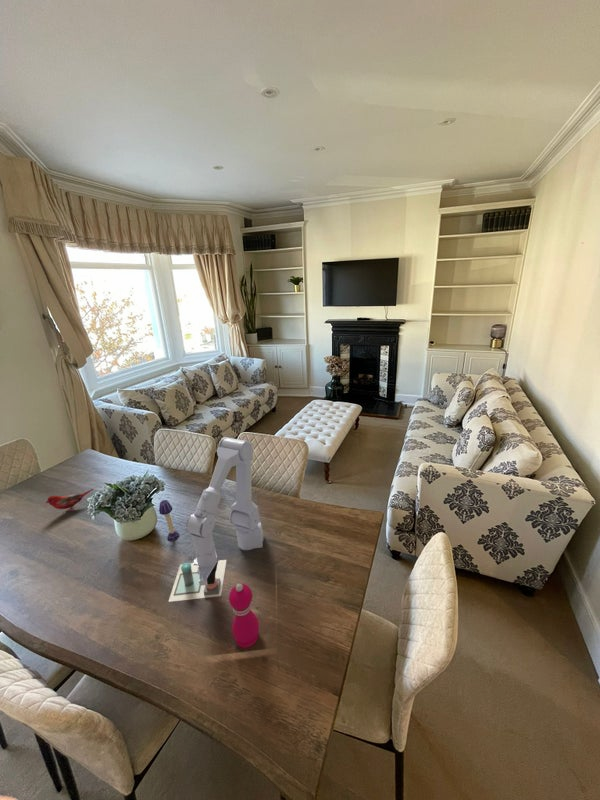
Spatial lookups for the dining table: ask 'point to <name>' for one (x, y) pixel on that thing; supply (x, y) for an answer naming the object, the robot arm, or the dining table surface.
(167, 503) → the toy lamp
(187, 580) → the salt shaker
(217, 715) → the dining table surface
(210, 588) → the button
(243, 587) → the pepper mill
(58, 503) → the decorative bird figurine
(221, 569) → the board
